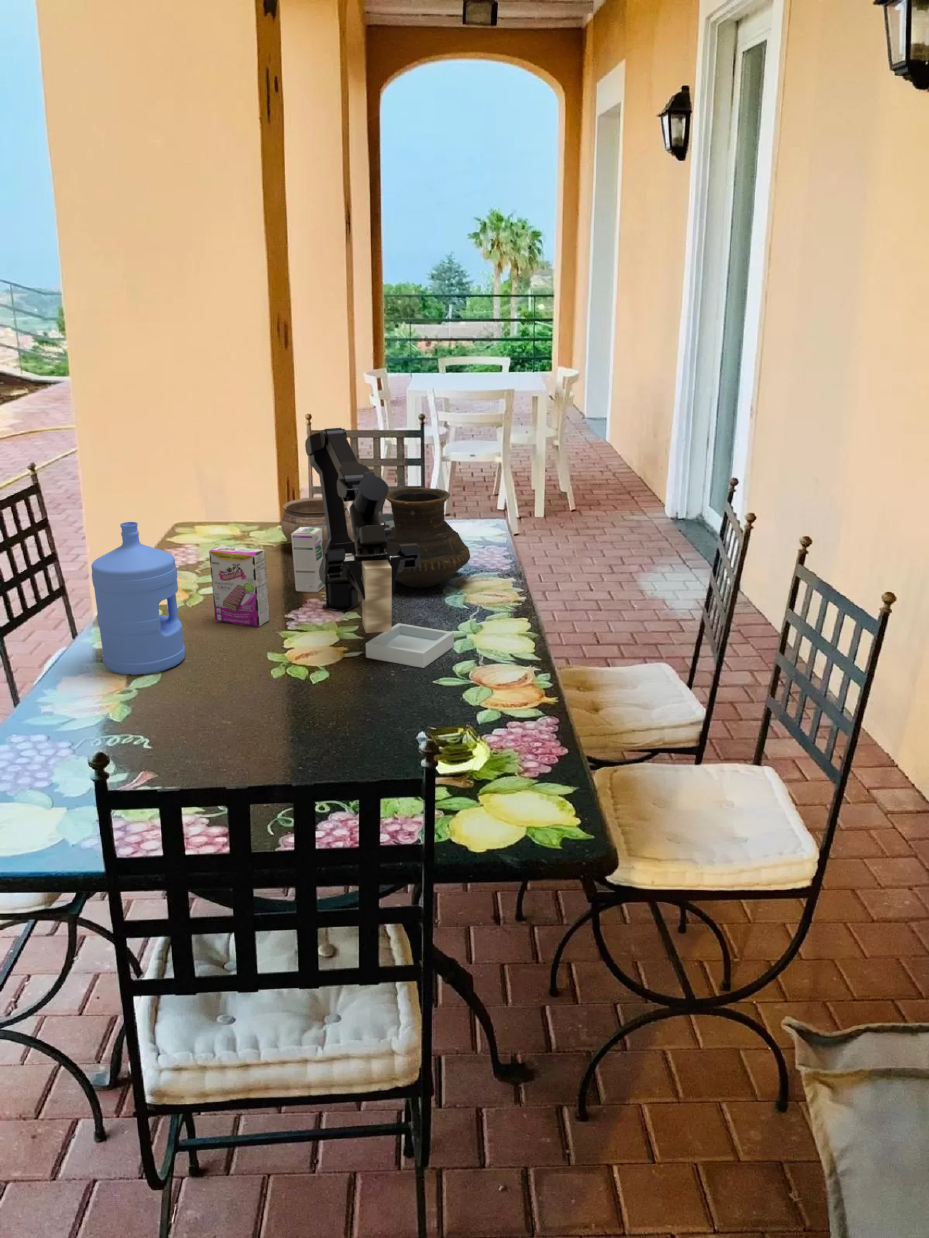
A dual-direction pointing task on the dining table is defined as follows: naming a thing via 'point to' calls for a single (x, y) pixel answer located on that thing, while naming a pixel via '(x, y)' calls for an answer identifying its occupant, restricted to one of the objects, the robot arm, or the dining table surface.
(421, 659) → the tray
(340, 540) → the robot arm
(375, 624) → the birch block
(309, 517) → the cooking pot
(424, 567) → the ceramic pot
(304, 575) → the syrup box
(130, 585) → the water jug
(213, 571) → the candy bar box
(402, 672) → the dining table surface
